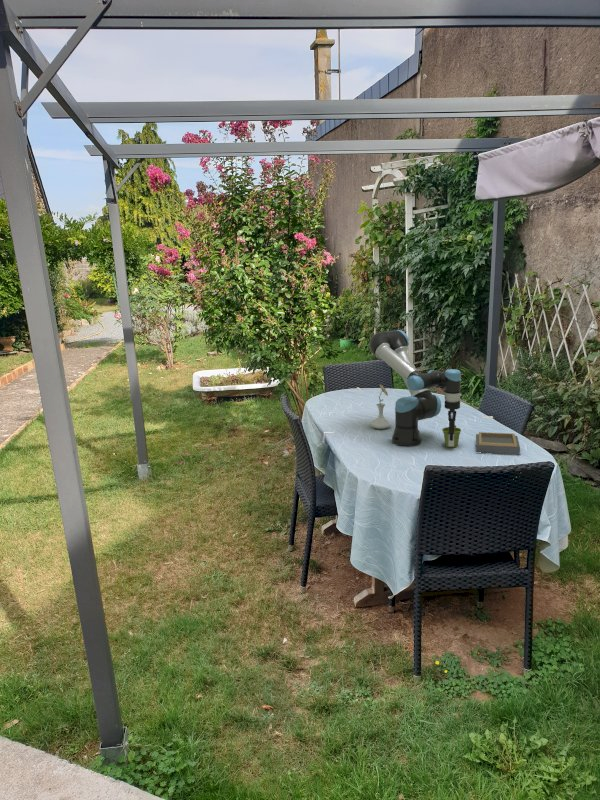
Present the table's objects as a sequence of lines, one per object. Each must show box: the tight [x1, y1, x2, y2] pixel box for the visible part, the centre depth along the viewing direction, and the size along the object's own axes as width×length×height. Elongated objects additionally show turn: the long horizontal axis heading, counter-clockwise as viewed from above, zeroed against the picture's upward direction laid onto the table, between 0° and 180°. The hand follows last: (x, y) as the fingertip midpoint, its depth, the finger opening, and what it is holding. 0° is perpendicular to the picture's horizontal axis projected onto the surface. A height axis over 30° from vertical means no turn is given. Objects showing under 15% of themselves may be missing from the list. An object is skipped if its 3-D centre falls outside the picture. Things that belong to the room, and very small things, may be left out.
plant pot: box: [441, 426, 462, 448], centre depth 290 cm, size 9×9×9 cm
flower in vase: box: [370, 384, 392, 430], centre depth 324 cm, size 13×11×25 cm
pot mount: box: [475, 431, 521, 456], centre depth 284 cm, size 20×18×5 cm
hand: (451, 442), depth 291 cm, fingers closed on plant pot, 9 cm apart
